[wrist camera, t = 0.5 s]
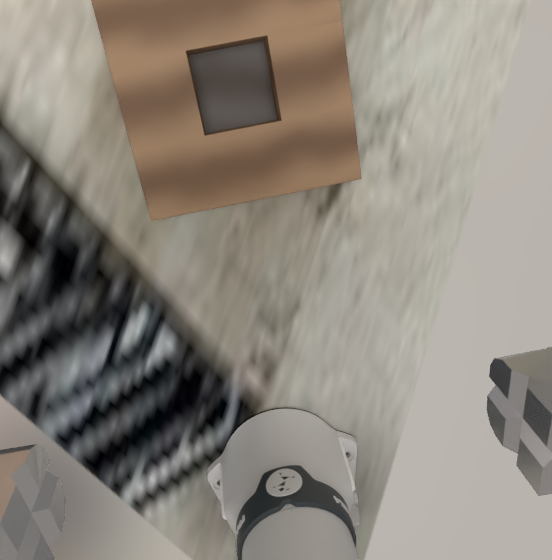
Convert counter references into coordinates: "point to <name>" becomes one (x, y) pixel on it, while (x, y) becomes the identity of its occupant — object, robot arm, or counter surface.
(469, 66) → the counter surface
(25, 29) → the counter surface
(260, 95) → the socket board
